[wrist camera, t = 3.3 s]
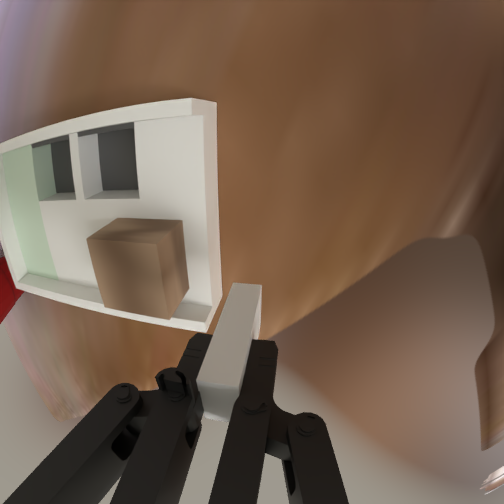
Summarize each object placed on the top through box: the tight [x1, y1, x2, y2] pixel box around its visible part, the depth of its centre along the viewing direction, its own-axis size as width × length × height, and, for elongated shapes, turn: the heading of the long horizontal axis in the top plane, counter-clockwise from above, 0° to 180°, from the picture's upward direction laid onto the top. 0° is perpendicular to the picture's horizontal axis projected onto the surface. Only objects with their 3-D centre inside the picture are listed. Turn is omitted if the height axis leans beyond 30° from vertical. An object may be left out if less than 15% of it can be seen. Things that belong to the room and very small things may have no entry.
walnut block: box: [86, 218, 189, 320], centre depth 19 cm, size 6×6×4 cm
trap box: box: [0, 98, 222, 333], centre depth 21 cm, size 24×16×5 cm, turn 89°
